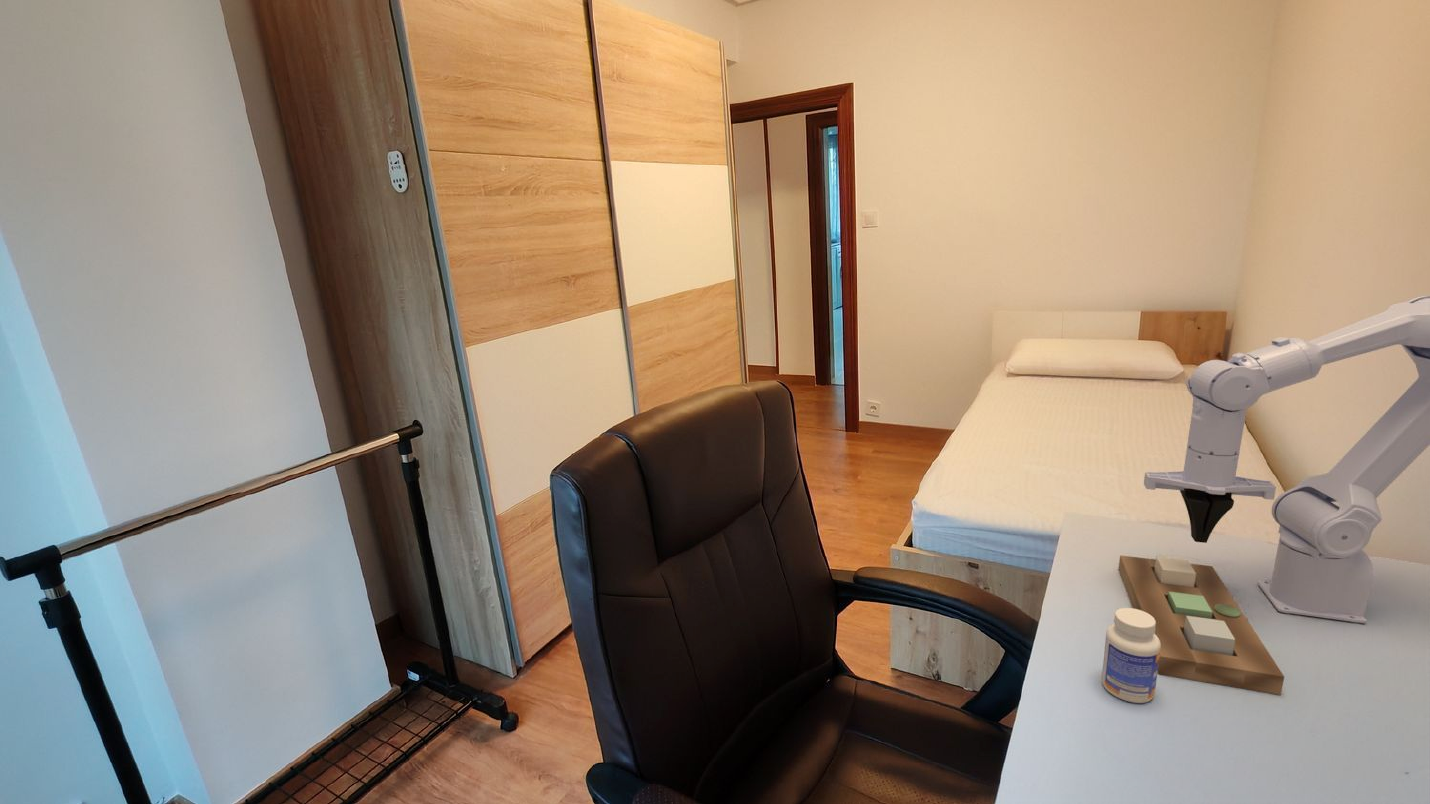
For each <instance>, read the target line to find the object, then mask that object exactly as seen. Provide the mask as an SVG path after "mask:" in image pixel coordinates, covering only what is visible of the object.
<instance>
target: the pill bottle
mask: <svg viewBox="0 0 1430 804" xmlns="http://www.w3.org/2000/svg"><path fill="white" fill-rule="evenodd" d="M1113 622H1114V623H1113V624H1111V625H1110V626H1109V627H1108V628H1107V630H1106V633H1105V634H1106V635H1105V643H1104V644H1105V645H1104V656H1103V662H1102V663H1103V664H1102V673H1101V683H1102V685H1103V687H1104V688H1105V690H1106V691H1107V692H1108V693H1109V694H1111V695H1112V696H1114V697H1116V698H1117V699H1121V700H1123V701H1125V702H1128V703H1135V704H1144V703H1145V704H1146V703H1149V702H1151V701H1152V699H1154V696H1155V692H1156V686H1157V685H1156V684H1157V678H1158V664H1159V656H1160V648H1161V643H1160V640H1159V638H1158V637H1157V636H1156V635H1155V634H1154V633H1155V627H1156V621H1155V619H1154V618H1153V617H1152V616H1151V615H1150V614H1148V613H1146V612H1144V611H1141V610H1138V609H1133V607H1132V608H1131V607H1121V608H1119V609H1117V610H1116V611H1115V613H1114V618H1113Z"/></svg>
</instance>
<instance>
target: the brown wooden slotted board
mask: <svg viewBox="0 0 1430 804" xmlns="http://www.w3.org/2000/svg"><path fill="white" fill-rule="evenodd" d="M1155 561H1156V558H1155V559H1154V558H1145V557H1139V556H1137V557H1136V556H1130V555H1119V563H1118V572H1119V575H1120V578H1121V581H1122V583H1123V585H1124V588H1125V591H1126V593H1127V596H1128V599H1129V601H1130V603H1131V607H1132V608H1133V609H1138V610H1141V611H1144V612H1146V613H1148V614H1150V615H1151V616H1152V617H1153V618H1154V619H1155V621H1156V627H1155V633H1154V634H1155V635H1156V636H1157V637H1158V638H1159V640H1160V643H1161V648H1160V656H1159V664H1158V672H1157V675H1162V676H1169V677H1173V678H1179V679H1185V680H1186V679H1187V680H1192V681H1196V682H1197V681H1198V682H1202V683H1210V684H1215V685H1219V686H1227V687H1233V688H1238V689H1244V690H1248V691H1249V690H1250V691H1256V692H1260V693H1261V692H1262V693H1267V694H1272V695H1278V696H1281V694H1282V692H1283V691H1282V689H1283V687H1284V686H1283V685H1284V680H1285V675H1284V673H1282V670H1281V669H1280V668H1279V666H1278V665H1277V663H1276V661H1275V659H1273V657H1272V656H1271V654H1270V652H1269V650H1267V648H1266V646H1265V644H1264V643H1263V641H1262V640H1261V639H1260V637H1259V635H1258V634H1257V631H1255V629H1254V628H1253V626H1252V625H1251V623H1250V622H1249V619H1248V618H1247V617H1246V616H1245V614H1244V613H1243V611H1242V609H1241V608H1240V606H1239V605H1238V603H1237V602H1236V600H1235V598H1234V597H1233V595H1232V594H1231V593H1230V591H1229V589H1228V588H1227V587H1226V585H1225V583H1224V582H1223V580H1222V578H1221V577H1220V575H1219V574H1218V573H1217V571H1216V570H1215V568H1214V566H1212V565H1205V564H1198V563H1190V564H1191V566H1192V568H1193V569H1194V571H1195V573H1196V577H1195V583H1194V587H1187V586H1180V585H1172V584H1164V583H1158V581H1157V579H1156V576H1155V574H1154V569H1155ZM1169 592H1176V593H1183V594H1191V595H1198V596H1204V598H1205V600H1206V602H1207V603H1208V605H1209V607H1210V609H1211V610H1212V612H1213V613H1212V619H1213V620H1220V621H1224V622H1225V623H1226V625H1227V627H1228V628H1229V630H1230V632H1231V633H1232V635H1233V637H1234V638H1235V644H1234V650H1233V655H1232V656H1230V655H1224V654H1218V653H1211V652H1205V651H1199V650H1192V649H1190V648H1189V646H1188V644H1187V641H1186V639H1185V637H1184V635H1183V633H1184V626H1185V620H1186V616H1189V615H1182V614H1175V613H1173V612H1172V610H1171V608H1170V606H1169V604H1168V602H1167V601H1168V594H1169ZM1192 617H1196V616H1192ZM1199 618H1203V617H1199ZM1206 619H1210V618H1206Z"/></svg>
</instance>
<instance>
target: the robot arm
mask: <svg viewBox="0 0 1430 804" xmlns="http://www.w3.org/2000/svg"><path fill="white" fill-rule="evenodd" d="M1397 345H1400V346H1402V348H1403V349H1404V351H1405V353H1406V354H1407V355H1408V356H1409V358H1410V359H1411V360H1412V362H1413V363H1414V364H1415V368H1416V371H1417V374H1418V378H1417V379H1416V380H1415V381H1414V382H1413V383H1412V384H1411V385H1410V386H1409V387H1408V389H1407V390H1406V391H1405V392H1404V393H1403V394H1402V395H1401V396H1400V397H1399V398H1398V399H1396V401H1395V402H1394V403H1393V404H1392V405H1391V406H1390V407H1389V408H1388V409H1387V411H1386V412H1385V413H1384V414H1383V415H1382V416H1381V417H1380V418H1379V419H1378V420H1377V421H1376V422H1375V423H1374V424H1373V425H1371V427H1370V428H1369V430H1368V431H1367V432H1366V433H1365V434H1364V435H1363V436H1362V437H1361V438H1360V439H1359V440H1358V441H1357V442H1356V443H1355V444H1354V445H1353V446H1352V447H1351V448H1350V449H1349V451H1348V452H1346V454H1345V455H1344V456H1343V457H1341V459H1340V460H1339V461H1338V462H1337V463H1336V464H1335V465H1334V466H1333V467H1332V468H1331V469H1330V470H1329V471H1328V472H1327V473H1323V474H1318V475H1313V476H1308V477H1305V478H1303V479H1302V481H1300V483H1298V484H1297V485H1296V486H1294V487H1293V488H1289V489H1288V490H1286V491H1284V492H1282V493H1281V494H1280V495H1278V497H1276V499H1275V495H1276V492H1277V490H1276V489H1277V486H1276V485H1275V484H1274V483H1273V482H1272V481H1270V480H1261V479H1254V478H1248V477H1241V476H1236V475H1237V471H1238V469H1237V468H1238V463H1239V459H1240V451H1241V445H1242V439H1243V433H1244V428H1245V421H1246V414H1247V410H1248V409H1249V408H1251V407H1253V406H1254V405H1255V404H1256V403H1257V402H1258V401H1259V400H1260V398H1261V397H1262V396H1263V395H1266V394H1268V393H1271V392H1275V391H1278V390H1280V389H1284V388H1287V387H1290V386H1293V385H1296V384H1300V383H1302V382H1305V381H1308V380H1311V379H1313V378H1316V377H1317V375H1318V374H1319V373H1320V371H1321V370H1322V367H1323V366H1324V365H1328V364H1331V363H1334V362H1335V363H1336V362H1338V361H1342V360H1346V359H1350V358H1353V357H1357V356H1360V355H1364V354H1367V353H1371V352H1375V351H1378V350H1381V349H1385V348H1388V347H1392V346H1397ZM1185 383H1186V384H1185V386H1186V388H1187V391H1188V393H1190V394H1191V396H1192V399H1193V400H1192V411H1191V416H1190V422H1189V423H1190V425H1189V432H1188V435H1187V436H1188V437H1187V445H1186V451H1185V457H1184V458H1185V459H1184V464H1183V471H1162V472H1161V471H1157V472H1156V471H1151V472H1150V471H1144V472H1145V473H1144V479H1143V486H1144V488H1145V489H1146V490H1151V491H1154V490H1156V489H1161V490H1175V491H1179V492H1180V494H1181V497H1182V499H1183V501H1184V504H1185V507H1186V510H1187V515H1188V518H1189V523H1190V537H1191V538H1192V540H1193V541H1194V542H1196V543H1204V544H1207V543H1208V541H1209V538H1210V536H1211V535H1212V532H1213V530H1214V529H1215V528H1216V525H1217V524H1218V523H1219V522H1220V521H1221V519H1222V518H1223V517H1224V516H1225V515H1226V514H1227V513H1228V512H1229V511H1230V510H1232V509H1233V507H1234V504H1235V500H1234V498H1233V497H1232V496H1233V495H1235V496H1247V497H1259V498H1262V499H1264V500H1271V501H1272V500H1274V501H1273V504H1272V506H1271V515H1272V518H1273V520H1274V522H1275V523H1277V524H1278V525H1279V527H1278V528H1279V529H1278V533H1279V538H1278V539H1279V540H1278V544H1277V550H1276V554H1275V559H1274V560H1275V561H1274V564H1273V569H1272V576H1271V581H1269V580H1268V581H1266V580H1258V581H1257V584H1258V586H1259V587H1260V589H1261V590H1262V592H1263V593H1264V594H1265V595H1266V597H1267V598H1268V599H1269V601H1270V602H1271V604H1272V605H1273V606H1274V607H1275V609H1276V611H1278V612H1280V613H1286V614H1292V615H1299V616H1300V615H1302V616H1309V617H1315V618H1322V619H1329V620H1331V619H1332V620H1339V621H1345V622H1353V623H1359V624H1366V623H1367V620H1368V619H1366V617H1365V613H1366V609H1367V605H1368V601H1369V596H1370V592H1371V588H1372V583H1373V579H1374V572H1373V571H1374V570H1373V569H1374V568H1373V562H1371V559H1370V556H1369V555H1368V553H1366V552H1365V551H1364V550H1363V549H1365V548H1366V546H1367V545H1368V544H1369V542H1370V539H1371V537H1372V534H1373V531H1374V529H1375V528H1376V527H1377V526H1378V525H1379V524H1380V523H1381V522H1382V520H1383V516H1382V513H1381V511H1380V508H1379V504H1378V500H1377V498H1379V496H1380V495H1381V494H1383V492H1384V491H1385V490H1387V489H1388V487H1389V486H1390V485H1392V483H1393V482H1394V481H1396V479H1398V477H1400V475H1402V473H1403V472H1404V471H1405V470H1406V469H1407V468H1409V467H1410V465H1411V464H1412V463H1414V461H1415V460H1417V458H1418V457H1419V456H1420V455H1421V454H1422V453H1423V452H1424V451H1426V450H1427V448H1428V447H1430V295H1423V296H1422V295H1421V296H1418V297H1414V298H1412V299H1410V300H1408V301H1406V302H1405V301H1403V302H1398V303H1395V304H1391V305H1390V306H1389V307H1388V308H1386V310H1384V311H1382V312H1380V313H1376V314H1375V315H1373V316H1372V315H1371V316H1370V317H1367V318H1364V319H1362V320H1359V321H1357V322H1355V323H1352V324H1349V325H1347V326H1343V327H1342V328H1339V329H1337V330H1334V331H1332V332H1329V333H1326V334H1323V335H1320V336H1319V337H1316V338H1313V339H1311V340H1308V341H1306V340H1305V339H1303V338H1298V337H1289V338H1288V337H1283V336H1279V337H1276V338H1273V339H1271V344H1269V345H1266V346H1263V347H1260V348H1257V349H1255V350H1251V351H1248V352H1246V353H1243V352H1236V353H1234V354H1232V355H1231V358H1230V359H1229V360H1227V361H1226V360H1222V359H1221V360H1220V359H1211V360H1207V361H1205V362H1203V363H1201V364H1199V365H1198V366H1197V368H1195V369H1194V370H1193V372H1192V373H1191V376H1190V377H1189V378H1186V380H1185ZM1335 502H1337V503H1338V504H1339V505H1336V504H1334V503H1335Z"/></svg>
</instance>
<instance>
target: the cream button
mask: <svg viewBox="0 0 1430 804" xmlns="http://www.w3.org/2000/svg"><path fill="white" fill-rule="evenodd" d="M1155 559H1156V561H1155V569H1154V574H1155V576H1156V579H1157V581H1158V583H1164V584H1172V585H1180V586H1187V587H1194V583H1195V577H1196V573H1195V571H1194V569H1193V568H1192V566H1191V564H1192V563H1191V562H1190V561H1189V559H1181V558H1173V557H1164V556H1155Z"/></svg>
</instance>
